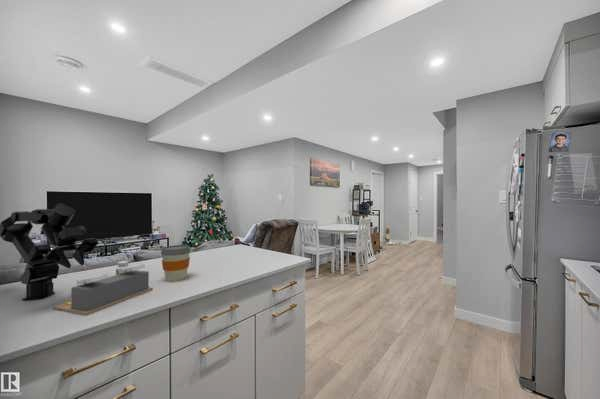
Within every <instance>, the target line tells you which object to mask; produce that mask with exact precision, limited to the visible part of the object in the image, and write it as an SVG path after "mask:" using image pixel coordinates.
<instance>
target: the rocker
mask: <svg viewBox="0 0 600 399" xmlns="http://www.w3.org/2000/svg"><path fill="white" fill-rule="evenodd" d="M144 268H146V265H145V263H143V264H138V265H133V266H130V267H128V268H124V269H120V270H118V272H119V273H124V272H125V273H128V272H131V271H135V270H138V271H139V270H141V269H144Z"/></svg>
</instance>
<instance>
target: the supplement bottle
mask: <svg viewBox="0 0 600 399" xmlns="http://www.w3.org/2000/svg"><path fill="white" fill-rule="evenodd" d="M128 267H131V266H130V263H129V260H121V261H118V262H117V267H116V268H115V275H119V274H122V273H119V272H118V270H120V269H124V268H128ZM124 273H125V272H124Z"/></svg>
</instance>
